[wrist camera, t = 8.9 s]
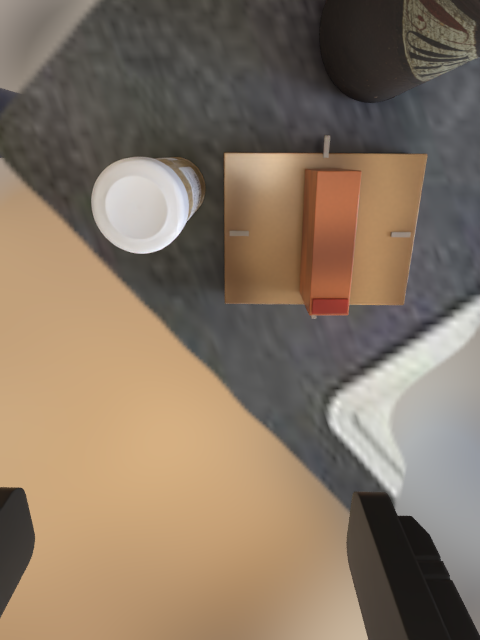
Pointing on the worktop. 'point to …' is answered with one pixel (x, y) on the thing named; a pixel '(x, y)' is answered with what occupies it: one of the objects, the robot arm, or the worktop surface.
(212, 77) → the worktop surface
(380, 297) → the holder base
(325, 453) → the worktop surface
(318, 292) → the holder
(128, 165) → the sprinkles bottle
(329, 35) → the container
